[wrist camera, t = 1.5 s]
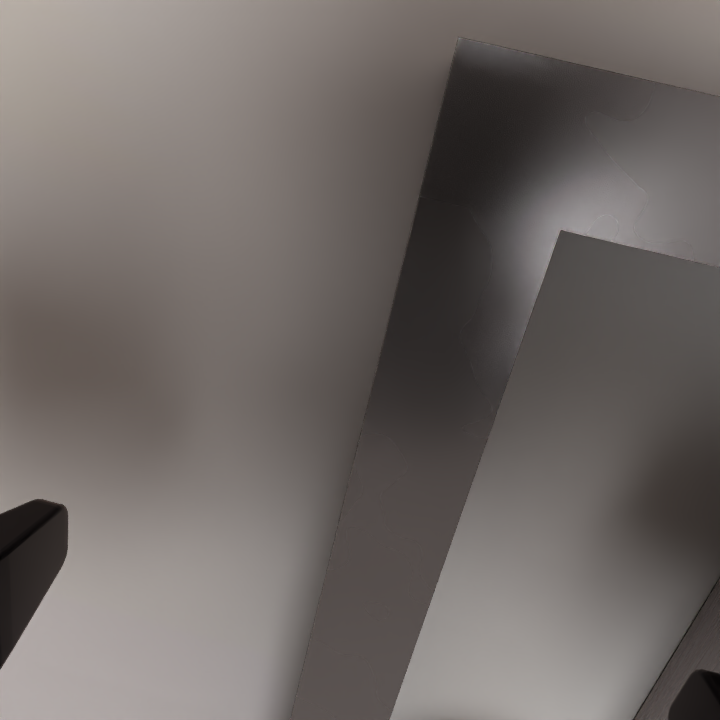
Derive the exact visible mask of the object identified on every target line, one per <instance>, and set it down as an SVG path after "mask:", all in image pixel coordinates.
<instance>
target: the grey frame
mask: <svg viewBox="0 0 720 720" xmlns="http://www.w3.org/2000/svg"><path fill="white" fill-rule="evenodd" d="M560 230H563V231H567V232H571V233H575V234H580V235H584V236H588V237H592V238H597V239H601V240H605V241H609V242H613V243H618V244H622V245H626V246H630V247H635V248H639V249H643V250H647V251H651V252H656V253H660V254H664V255H668V256H673V257H677V258H681V259H685V260H690V261H694V262H698V263H702V264H706V265H711V266H715V267H719V268H720V97H719V96H715V95H711V94H706V93H702V92H697V91H693V90H689V89H684V88H680V87H675V86H671V85H667V84H662V83H658V82H654V81H649V80H645V79H640V78H636V77H632V76H627V75H623V74H619V73H614V72H610V71H605V70H601V69H597V68H592V67H588V66H583V65H579V64H575V63H570V62H566V61H562V60H557V59H553V58H548V57H544V56H540V55H535V54H531V53H527V52H522V51H518V50H513V49H509V48H505V47H500V46H496V45H491V44H487V43H483V42H478V41H474V40H470V39H465V38H461V37H459V38H458V41H457V45H456V49H455V53H454V57H453V60H452V64H451V68H450V73H449V77H448V81H447V85H446V89H445V93H444V97H443V101H442V105H441V109H440V113H439V117H438V121H437V125H436V129H435V134H434V138H433V142H432V146H431V150H430V154H429V158H428V162H427V166H426V170H425V174H424V178H423V182H422V186H421V190H420V195H419V199H418V203H417V207H416V211H415V215H414V219H413V223H412V227H411V231H410V235H409V239H408V243H407V247H406V251H405V256H404V260H403V264H402V268H401V272H400V276H399V280H398V284H397V288H396V292H395V296H394V300H393V304H392V308H391V312H390V316H389V321H388V325H387V329H386V333H385V337H384V341H383V345H382V349H381V353H380V357H379V361H378V365H377V369H376V373H375V377H374V382H373V386H372V390H371V394H370V398H369V402H368V406H367V410H366V414H365V418H364V422H363V426H362V430H361V434H360V438H359V443H358V447H357V451H356V455H355V459H354V463H353V467H352V471H351V475H350V479H349V483H348V487H347V491H346V495H345V499H344V503H343V508H342V512H341V516H340V520H339V524H338V528H337V532H336V536H335V540H334V544H333V548H332V552H331V556H330V560H329V564H328V569H327V573H326V577H325V581H324V585H323V589H322V593H321V597H320V601H319V605H318V609H317V613H316V617H315V621H314V625H313V630H312V634H311V638H310V642H309V646H308V650H307V654H306V658H305V662H304V666H303V670H302V674H301V678H300V682H299V686H298V691H297V695H296V699H295V703H294V707H293V711H292V715H291V719H290V720H389V719H390V716H391V713H392V711H393V708H394V705H395V702H396V699H397V696H398V693H399V691H400V688H401V685H402V682H403V679H404V676H405V673H406V671H407V668H408V665H409V662H410V659H411V656H412V653H413V651H414V648H415V645H416V642H417V639H418V636H419V633H420V631H421V628H422V625H423V622H424V619H425V616H426V613H427V611H428V608H429V605H430V602H431V599H432V596H433V593H434V591H435V588H436V585H437V582H438V579H439V576H440V573H441V571H442V568H443V565H444V562H445V559H446V556H447V553H448V551H449V548H450V545H451V542H452V539H453V536H454V533H455V530H456V528H457V525H458V522H459V519H460V516H461V513H462V510H463V508H464V505H465V502H466V499H467V496H468V493H469V490H470V488H471V485H472V482H473V479H474V476H475V473H476V470H477V468H478V465H479V462H480V459H481V456H482V453H483V450H484V448H485V445H486V442H487V439H488V436H489V433H490V430H491V428H492V425H493V422H494V419H495V416H496V413H497V410H498V408H499V405H500V402H501V399H502V396H503V393H504V390H505V388H506V385H507V382H508V379H509V376H510V373H511V370H512V367H513V365H514V362H515V359H516V356H517V353H518V350H519V347H520V345H521V342H522V339H523V336H524V333H525V330H526V327H527V325H528V322H529V319H530V316H531V313H532V310H533V307H534V305H535V302H536V299H537V296H538V293H539V290H540V287H541V285H542V282H543V279H544V276H545V273H546V270H547V267H548V265H549V262H550V259H551V256H552V253H553V250H554V247H555V245H556V242H557V239H558V236H559V233H560ZM696 669H704V670H708V671H712V672H716V673H720V579H719V581H718V582H717V584H716V585H715V587H714V589H713V590H712V592H711V594H710V595H709V597H708V599H707V600H706V602H705V604H704V605H703V607H702V609H701V610H700V612H699V614H698V615H697V617H696V618H695V620H694V622H693V623H692V625H691V627H690V628H689V630H688V632H687V633H686V635H685V637H684V638H683V640H682V642H681V643H680V645H679V647H678V648H677V650H676V651H675V653H674V655H673V656H672V658H671V660H670V661H669V663H668V665H667V666H666V668H665V670H664V671H663V673H662V675H661V676H660V678H659V680H658V681H657V683H656V684H655V686H654V688H653V689H652V691H651V693H650V694H649V696H648V698H647V699H646V701H645V703H644V704H643V706H642V708H641V709H640V711H639V712H638V714H637V716H636V717H635V719H634V720H668V713H669V709H670V706H671V704H672V702H673V700H674V699H675V697H676V696H677V694H678V693H679V691H680V689H681V688H682V686H683V685H684V683H685V682H686V680H687V678H688V677H689V675H690V674H691V673H692V672H693V671H695V670H696Z"/></svg>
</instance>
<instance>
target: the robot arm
mask: <svg viewBox="0 0 720 720" xmlns="http://www.w3.org/2000/svg"><path fill="white" fill-rule="evenodd" d="M67 550H68V511H67V508H66V507H65V506H64V505H62V504H59V503H55V502H51V501H47V500H43V499H36V500H33V501H30V502H27V503H25V504H23V505H20V506H18V507H16V508H13V509H11V510H9V511H6V512H4V513H1V514H0V669H1V668H2V666H3V665H4V663H5V661H6V660H7V658H8V657H9V655H10V653H11V652H12V650H13V648H14V647H15V645H16V643H17V642H18V640H19V638H20V637H21V635H22V633H23V632H24V630H25V628H26V627H27V625H28V623H29V621H30V620H31V618H32V616H33V615H34V613H35V611H36V610H37V608H38V606H39V605H40V603H41V601H42V599H43V598H44V596H45V594H46V593H47V591H48V589H49V588H50V586H51V584H52V583H53V581H54V579H55V578H56V576H57V574H58V572H59V571H60V569H61V567H62V565H63V563H64V561H65V558H66V555H67ZM668 720H720V673H716V672H712V671H708V670H704V669H696V670H695V671H693V672H692V673H691V674H690V675H689V677H688V678H687V680H686V682H685V683H684V685H683V686H682V688H681V689H680V691H679V693H678V694H677V696H676V697H675V699H674V700H673V702H672V704H671V706H670V709H669V713H668Z"/></svg>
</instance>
